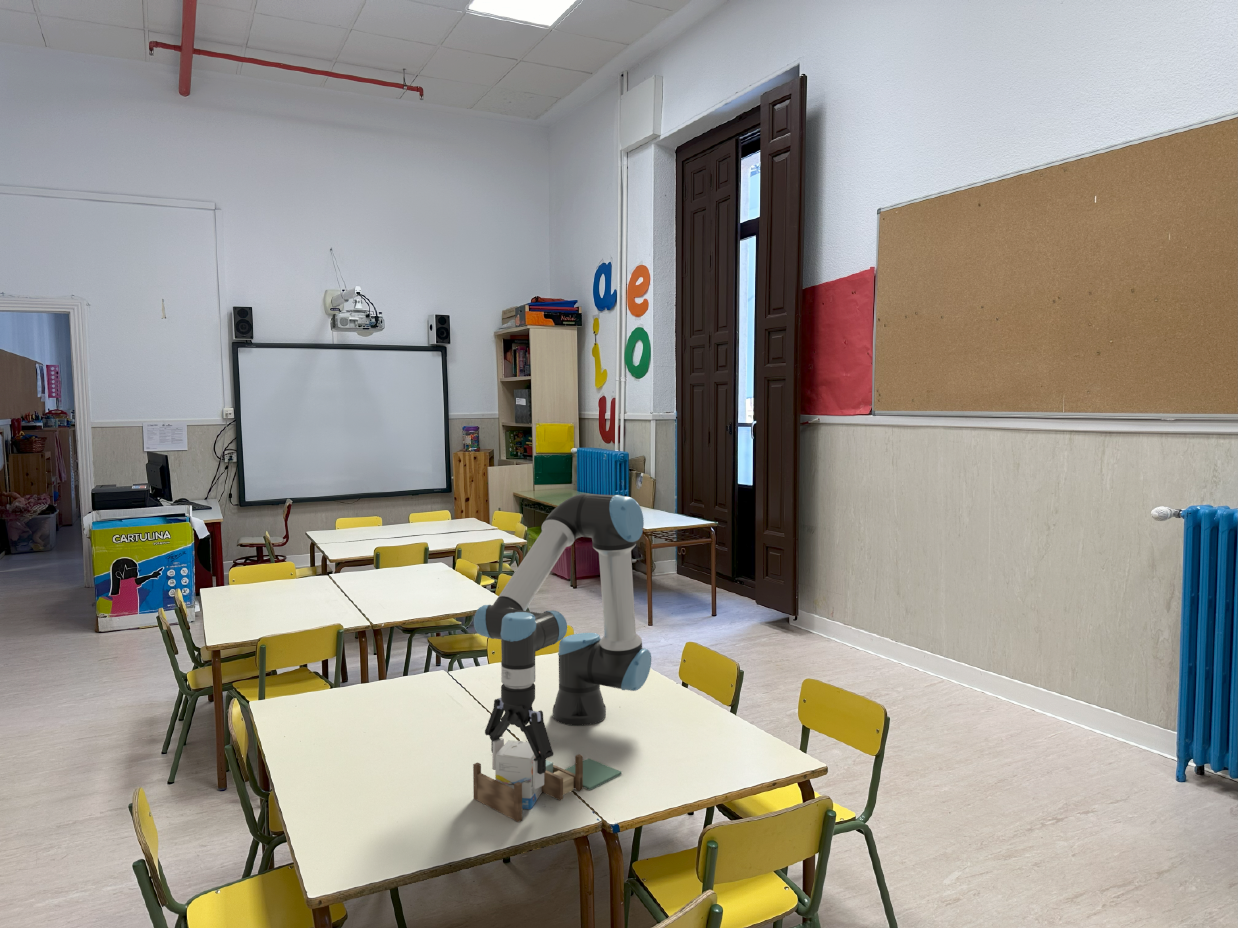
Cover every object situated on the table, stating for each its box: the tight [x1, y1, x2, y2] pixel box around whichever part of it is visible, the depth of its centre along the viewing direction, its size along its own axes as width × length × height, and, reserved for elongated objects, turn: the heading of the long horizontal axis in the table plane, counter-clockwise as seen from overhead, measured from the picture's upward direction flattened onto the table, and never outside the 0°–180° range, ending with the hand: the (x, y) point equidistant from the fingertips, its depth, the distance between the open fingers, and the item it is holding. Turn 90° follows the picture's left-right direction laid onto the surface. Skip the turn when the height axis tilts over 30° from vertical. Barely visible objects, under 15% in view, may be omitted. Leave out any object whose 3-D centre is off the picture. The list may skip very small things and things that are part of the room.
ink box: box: [494, 739, 543, 810], centre depth 180 cm, size 9×8×12 cm
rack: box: [472, 753, 584, 823], centre depth 182 cm, size 15×20×8 cm
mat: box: [564, 758, 623, 791], centre depth 192 cm, size 11×11×1 cm
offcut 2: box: [553, 771, 575, 796], centre depth 184 cm, size 5×4×3 cm
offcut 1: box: [546, 759, 554, 773], centre depth 188 cm, size 5×4×2 cm
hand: (517, 777), depth 179 cm, fingers open, 13 cm apart
